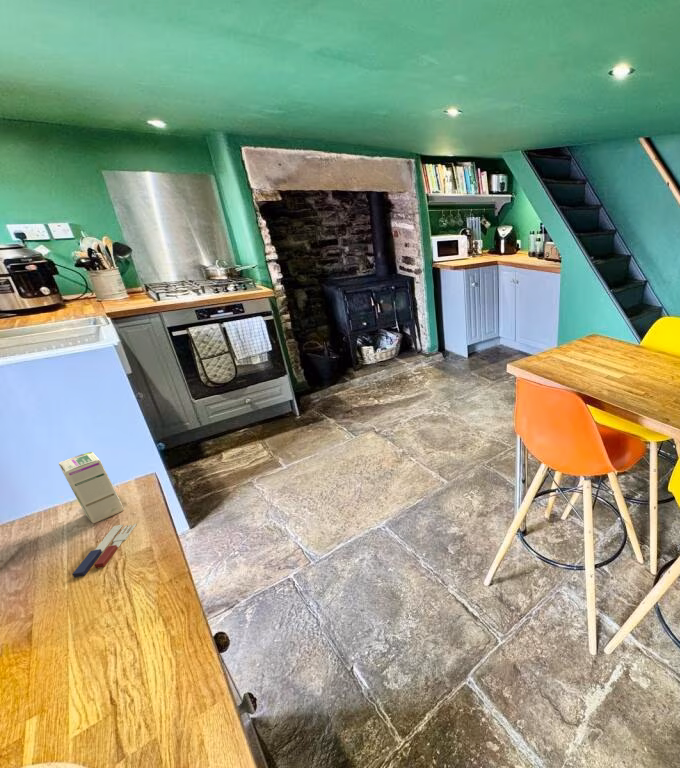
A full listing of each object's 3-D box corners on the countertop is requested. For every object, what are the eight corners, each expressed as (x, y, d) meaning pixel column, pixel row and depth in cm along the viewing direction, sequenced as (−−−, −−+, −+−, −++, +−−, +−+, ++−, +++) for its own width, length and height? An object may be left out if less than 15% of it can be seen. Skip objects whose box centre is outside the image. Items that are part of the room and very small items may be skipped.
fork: (93, 569, 79) (91, 565, 79) (125, 526, 89) (123, 523, 89) (107, 566, 80) (105, 562, 79) (137, 524, 90) (135, 521, 90)
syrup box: (125, 510, 94) (102, 458, 88) (91, 525, 90) (64, 471, 84) (116, 500, 97) (93, 449, 91) (83, 514, 92) (56, 462, 87)
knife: (74, 577, 77) (72, 574, 77) (114, 527, 89) (112, 523, 89) (84, 575, 78) (82, 572, 77) (123, 525, 90) (121, 522, 89)
